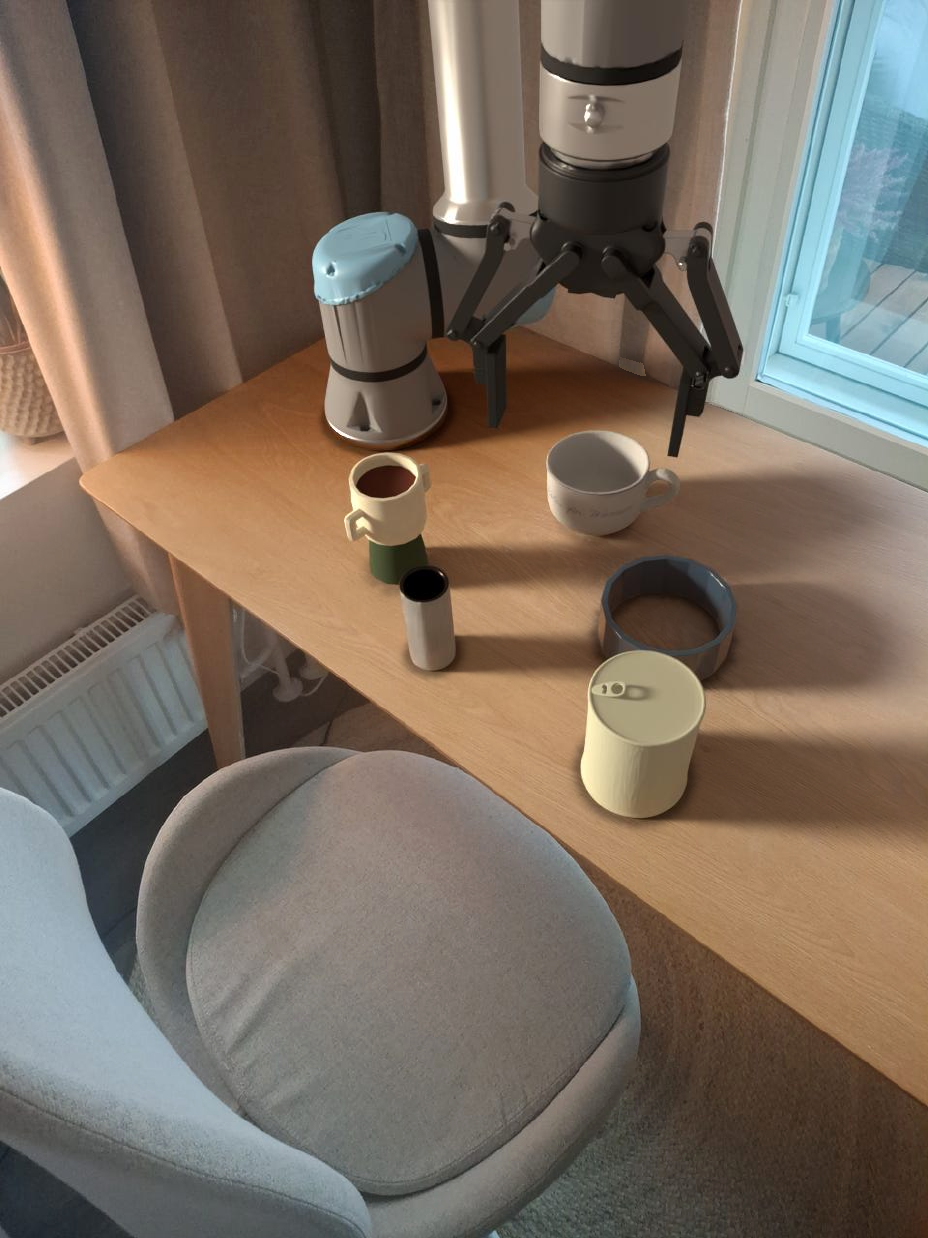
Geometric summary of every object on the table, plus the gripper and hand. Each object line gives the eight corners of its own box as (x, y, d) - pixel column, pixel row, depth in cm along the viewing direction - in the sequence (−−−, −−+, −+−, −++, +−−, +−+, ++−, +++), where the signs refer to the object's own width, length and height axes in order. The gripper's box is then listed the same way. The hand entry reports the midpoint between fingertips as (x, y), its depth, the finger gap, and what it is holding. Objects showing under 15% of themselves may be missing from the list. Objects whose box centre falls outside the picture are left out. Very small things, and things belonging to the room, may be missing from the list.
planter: (400, 655, 89) (388, 585, 81) (432, 627, 91) (423, 557, 83) (433, 679, 87) (424, 610, 79) (465, 650, 89) (459, 580, 81)
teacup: (529, 531, 99) (529, 476, 93) (568, 471, 105) (571, 415, 99) (650, 571, 95) (659, 515, 88) (684, 505, 100) (695, 449, 94)
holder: (575, 618, 91) (577, 585, 87) (676, 572, 94) (682, 538, 90) (647, 708, 84) (652, 676, 80) (754, 654, 87) (765, 621, 83)
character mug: (414, 525, 101) (401, 432, 91) (459, 556, 97) (451, 463, 87) (339, 579, 96) (317, 487, 86) (383, 614, 93) (366, 522, 83)
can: (585, 721, 83) (592, 639, 74) (688, 732, 82) (708, 651, 73) (575, 811, 77) (582, 735, 68) (686, 825, 76) (707, 750, 67)
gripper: (377, 151, 52) (412, 437, 69) (828, 193, 47) (748, 492, 64) (419, 96, 57) (442, 377, 73) (836, 128, 51) (759, 424, 68)
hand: (584, 431), depth 69 cm, fingers open, 13 cm apart
